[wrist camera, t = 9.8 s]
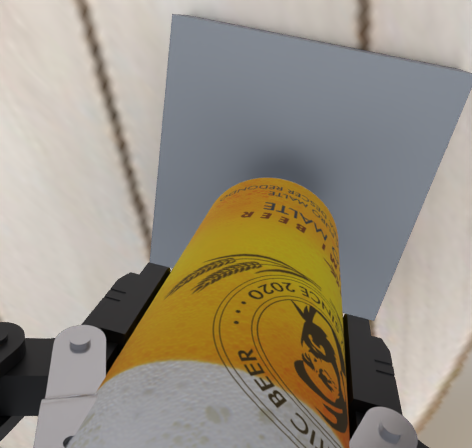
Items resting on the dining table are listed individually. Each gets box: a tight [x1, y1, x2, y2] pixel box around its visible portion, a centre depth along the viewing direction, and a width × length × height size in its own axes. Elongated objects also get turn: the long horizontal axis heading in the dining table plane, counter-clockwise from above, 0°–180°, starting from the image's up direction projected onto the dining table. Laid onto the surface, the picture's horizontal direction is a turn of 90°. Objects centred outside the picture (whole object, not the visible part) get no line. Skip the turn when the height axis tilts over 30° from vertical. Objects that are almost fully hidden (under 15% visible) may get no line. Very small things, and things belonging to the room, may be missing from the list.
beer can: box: [65, 178, 350, 448], centre depth 13 cm, size 6×6×15 cm
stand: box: [150, 14, 472, 321], centre depth 27 cm, size 16×16×3 cm
